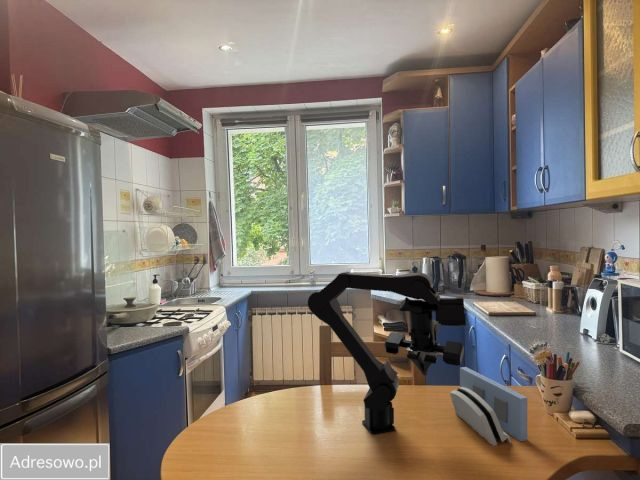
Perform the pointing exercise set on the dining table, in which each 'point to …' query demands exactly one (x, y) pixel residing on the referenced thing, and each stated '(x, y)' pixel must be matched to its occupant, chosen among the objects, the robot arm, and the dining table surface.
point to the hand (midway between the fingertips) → (425, 374)
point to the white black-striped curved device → (478, 415)
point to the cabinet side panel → (499, 402)
